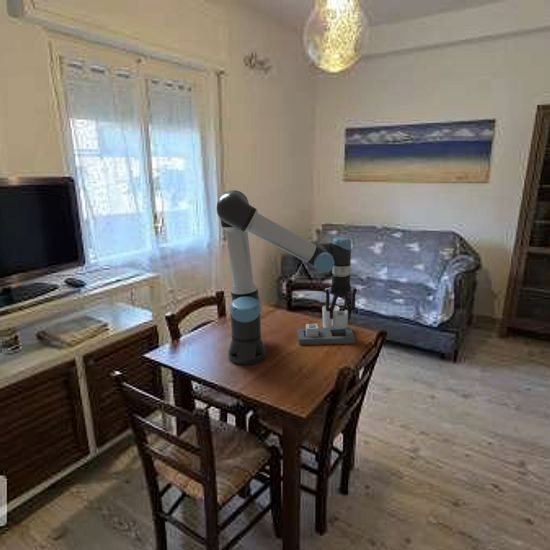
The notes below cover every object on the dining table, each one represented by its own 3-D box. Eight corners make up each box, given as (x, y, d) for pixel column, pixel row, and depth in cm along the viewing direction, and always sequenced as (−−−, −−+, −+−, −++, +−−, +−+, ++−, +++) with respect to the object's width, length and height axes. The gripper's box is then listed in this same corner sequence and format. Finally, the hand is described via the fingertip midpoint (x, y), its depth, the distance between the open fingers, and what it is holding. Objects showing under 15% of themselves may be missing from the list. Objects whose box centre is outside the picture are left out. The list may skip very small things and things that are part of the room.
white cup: (338, 324, 191) (339, 304, 188) (339, 331, 183) (340, 311, 180) (321, 324, 191) (322, 304, 189) (321, 331, 184) (322, 310, 181)
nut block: (335, 328, 172) (335, 314, 171) (333, 323, 177) (333, 310, 175) (346, 328, 173) (347, 314, 171) (344, 323, 177) (344, 310, 176)
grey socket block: (299, 344, 171) (299, 331, 169) (297, 333, 182) (297, 320, 180) (355, 343, 172) (355, 329, 170) (349, 332, 182) (350, 319, 180)
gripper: (321, 277, 164) (320, 329, 171) (364, 276, 165) (362, 328, 172) (318, 272, 172) (317, 322, 178) (360, 271, 172) (358, 321, 179)
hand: (339, 325), depth 175 cm, fingers closed on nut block, 5 cm apart
